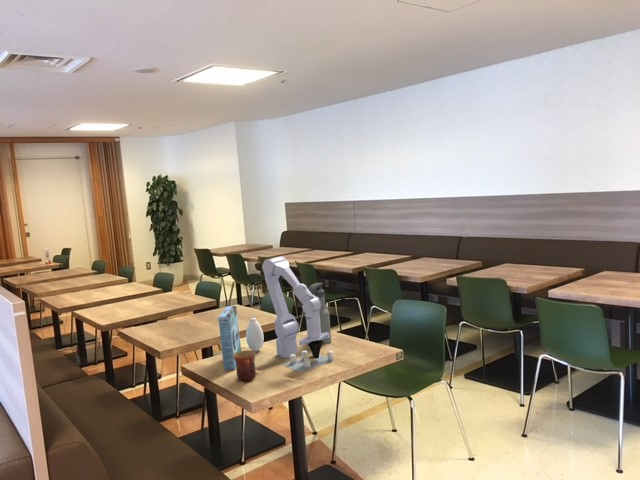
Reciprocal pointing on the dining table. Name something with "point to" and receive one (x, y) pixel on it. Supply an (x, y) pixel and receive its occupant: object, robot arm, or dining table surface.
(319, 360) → the plate
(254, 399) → the dining table surface
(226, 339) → the blue cereal box
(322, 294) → the water bottle
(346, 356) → the dining table surface
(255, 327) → the sauce bottle
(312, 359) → the nut
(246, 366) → the mug
